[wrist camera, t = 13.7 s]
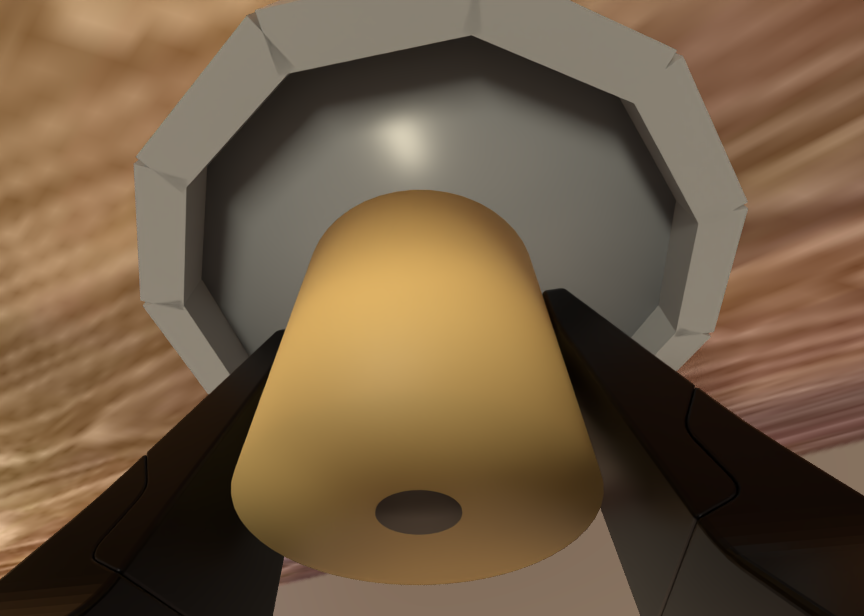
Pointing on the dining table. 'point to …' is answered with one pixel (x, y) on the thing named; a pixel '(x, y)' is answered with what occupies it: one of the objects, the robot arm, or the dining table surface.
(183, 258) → the round tray
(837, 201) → the dining table surface
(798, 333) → the dining table surface
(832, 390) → the dining table surface
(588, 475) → the ochre bead
